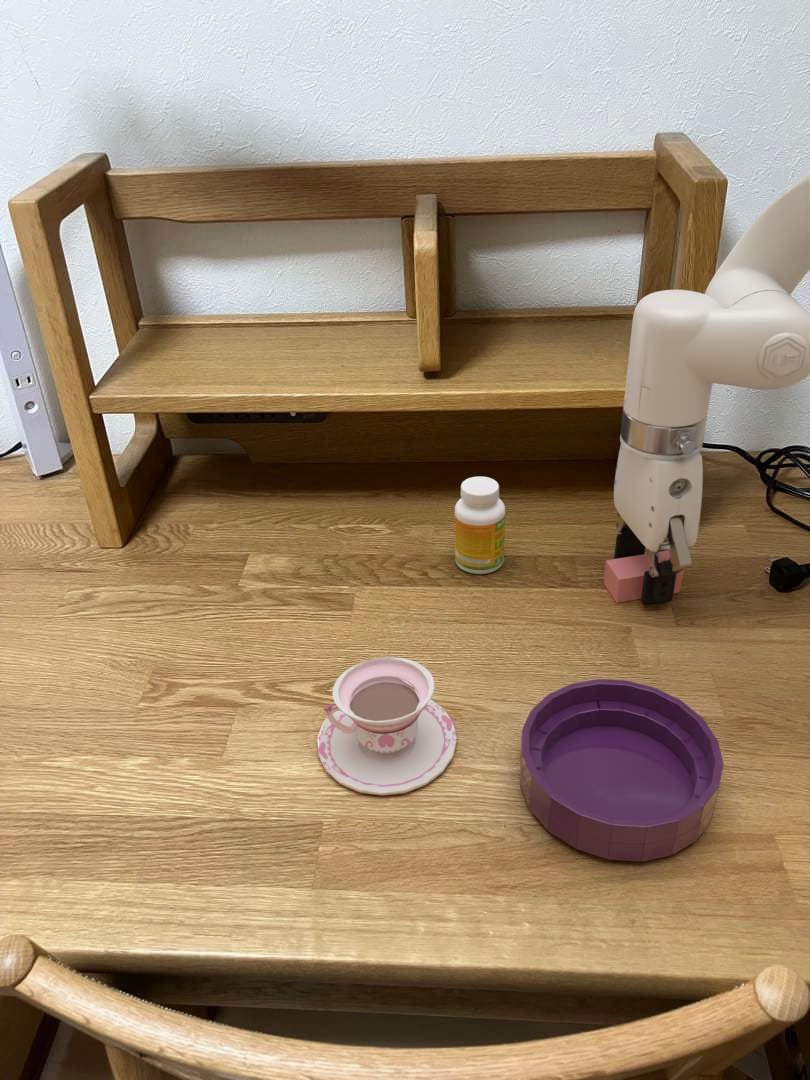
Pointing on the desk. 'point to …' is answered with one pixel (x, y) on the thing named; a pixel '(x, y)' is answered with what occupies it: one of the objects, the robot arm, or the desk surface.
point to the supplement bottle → (479, 526)
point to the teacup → (385, 728)
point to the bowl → (620, 769)
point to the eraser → (631, 576)
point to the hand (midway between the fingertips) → (641, 581)
